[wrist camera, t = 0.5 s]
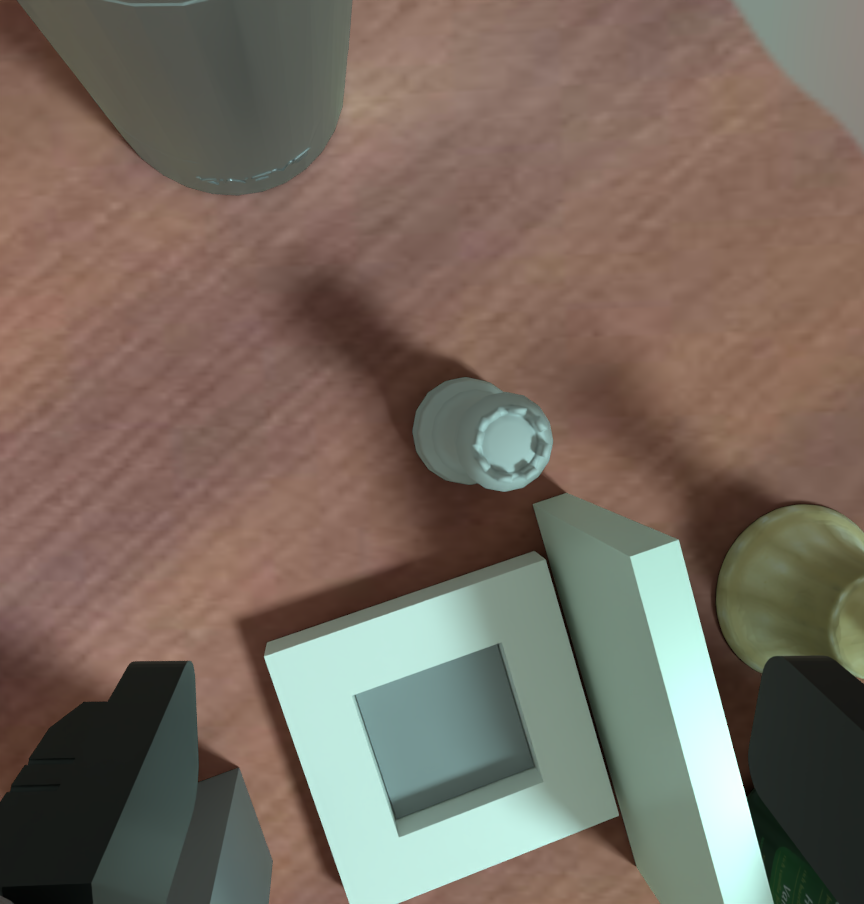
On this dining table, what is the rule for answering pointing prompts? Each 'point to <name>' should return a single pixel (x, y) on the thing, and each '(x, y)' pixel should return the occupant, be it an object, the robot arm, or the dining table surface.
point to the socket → (524, 720)
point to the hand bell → (795, 588)
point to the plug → (223, 848)
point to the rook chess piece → (482, 435)
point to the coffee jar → (785, 861)
